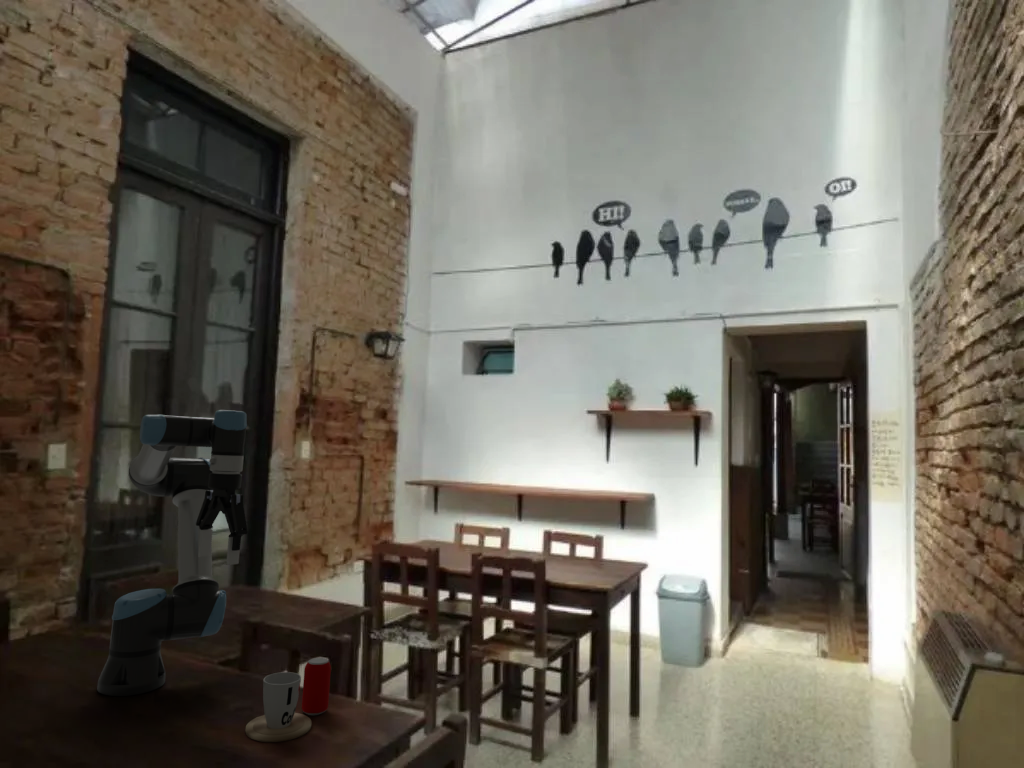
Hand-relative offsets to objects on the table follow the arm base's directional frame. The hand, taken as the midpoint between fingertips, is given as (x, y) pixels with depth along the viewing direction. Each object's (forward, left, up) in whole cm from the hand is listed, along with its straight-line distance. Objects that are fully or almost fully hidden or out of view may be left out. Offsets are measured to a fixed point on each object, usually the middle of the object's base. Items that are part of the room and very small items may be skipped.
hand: (217, 560), depth 160 cm
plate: (+22, +6, -35) cm, 42 cm away
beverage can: (+20, +17, -35) cm, 44 cm away
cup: (+22, +6, -34) cm, 41 cm away
